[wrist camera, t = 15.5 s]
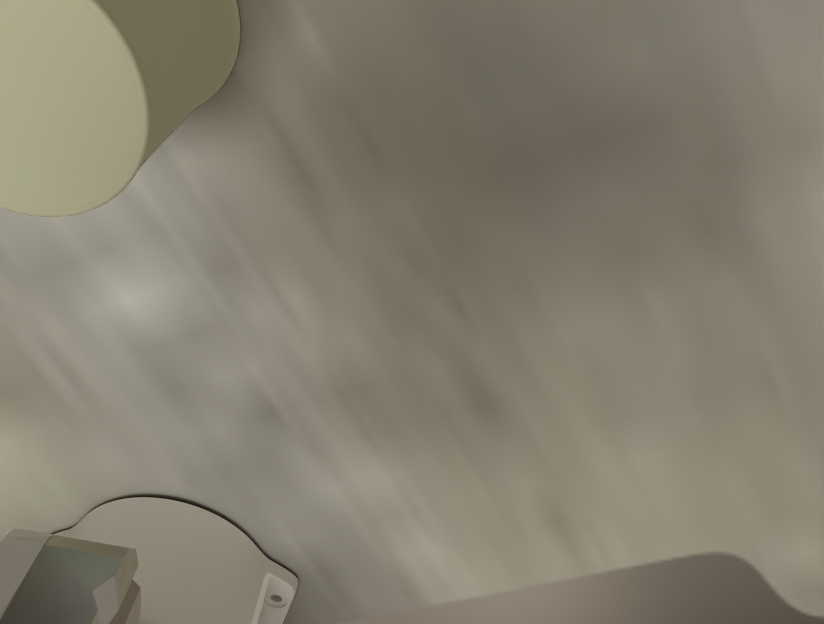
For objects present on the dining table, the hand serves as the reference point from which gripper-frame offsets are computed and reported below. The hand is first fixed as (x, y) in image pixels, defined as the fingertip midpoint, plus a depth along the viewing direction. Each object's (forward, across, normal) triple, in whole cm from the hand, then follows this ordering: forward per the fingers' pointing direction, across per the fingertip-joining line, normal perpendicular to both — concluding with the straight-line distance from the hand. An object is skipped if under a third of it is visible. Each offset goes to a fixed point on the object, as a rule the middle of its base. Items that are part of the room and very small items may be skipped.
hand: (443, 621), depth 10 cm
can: (+29, +15, +1) cm, 33 cm away
